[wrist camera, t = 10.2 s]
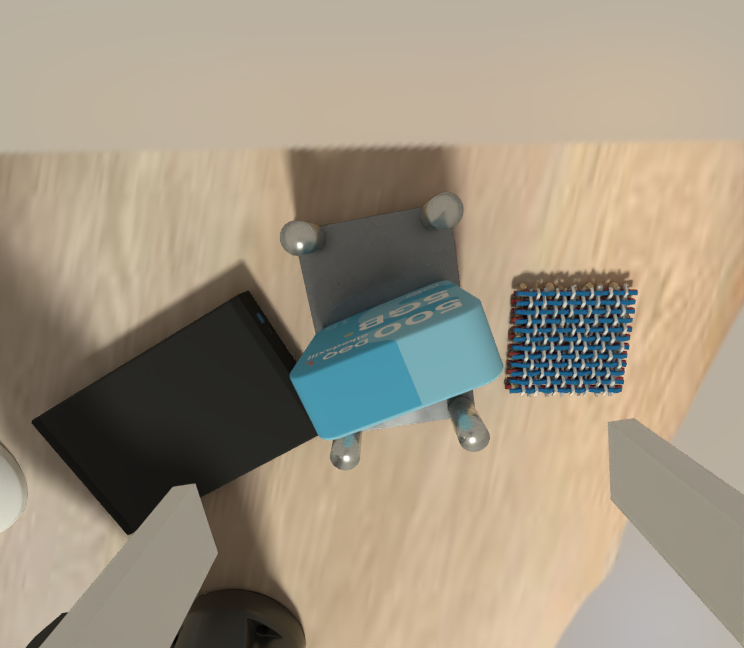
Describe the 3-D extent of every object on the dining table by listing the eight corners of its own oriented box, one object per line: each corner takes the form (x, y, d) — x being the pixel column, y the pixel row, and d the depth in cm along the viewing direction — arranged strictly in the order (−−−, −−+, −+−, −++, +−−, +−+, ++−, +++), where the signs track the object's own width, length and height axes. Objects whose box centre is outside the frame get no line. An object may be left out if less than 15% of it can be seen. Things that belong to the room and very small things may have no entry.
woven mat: (614, 390, 34) (628, 400, 32) (501, 391, 35) (508, 400, 33) (631, 280, 32) (647, 283, 30) (509, 281, 32) (517, 284, 30)
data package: (446, 277, 31) (486, 301, 19) (463, 325, 32) (513, 376, 20) (317, 329, 32) (281, 382, 20) (338, 374, 33) (315, 449, 21)
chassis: (340, 433, 35) (332, 472, 30) (294, 226, 31) (275, 224, 25) (473, 413, 35) (492, 449, 29) (446, 198, 30) (462, 188, 24)
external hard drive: (58, 406, 36) (30, 421, 33) (250, 289, 33) (237, 294, 30) (147, 513, 38) (128, 536, 36) (332, 415, 35) (328, 431, 32)
